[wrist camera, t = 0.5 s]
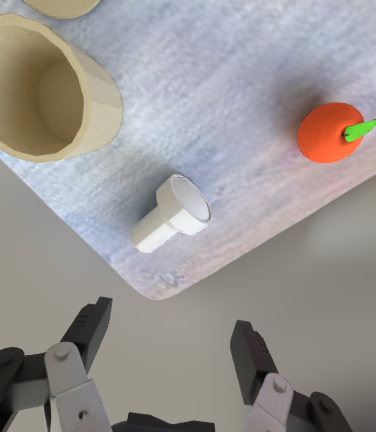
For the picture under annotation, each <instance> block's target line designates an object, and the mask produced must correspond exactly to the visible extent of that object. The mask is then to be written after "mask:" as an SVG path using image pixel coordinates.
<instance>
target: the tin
mask: <svg viewBox="0 0 376 432" xmlns="http://www.w3.org/2000/svg"><path fill="white" fill-rule="evenodd" d="M122 119H123V104H122V98H121V95H120V92H119V89H118V87H117V85H116V83H115V81H114V80H113V78H112V77H111V75H110V74H109V72H108V71H107V70H106V69H105V68H103V67H102V66H101V65H100V64H98V63H97V62H96V61H95V60H94V59H92V58H91V57H90V56H88V55H87V54H85V53H84V52H82V51H81V50H80V49H78V48H77V47H75V46H74V45H72V44H71V43H70V42H68V41H67V40H65V39H64V38H62V37H61V36H60V35H58V34H57V33H55V32H54V31H52V30H51V29H50V28H48V27H47V26H45V25H44V24H42V23H41V22H38V21H35V20H32V19H29V18H26V17H23V16H20V15H16V14H13V13H8V14H2V15H0V149H2V150H3V151H5V152H6V153H8V154H9V155H11V156H12V157H15V158H19V159H23V160H26V161H30V162H34V163H44V162H51V161H59V160H63V159H67V158H70V157H74V156H78V155H82V154H86V153H89V152H93V151H97V150H99V149H101V148H103V147H104V146H106V145H107V144H109V143H110V142H111V141H112V140H113V139H114V138H115V136H116V135H117V133H118V131H119V129H120V126H121V123H122Z"/></svg>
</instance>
